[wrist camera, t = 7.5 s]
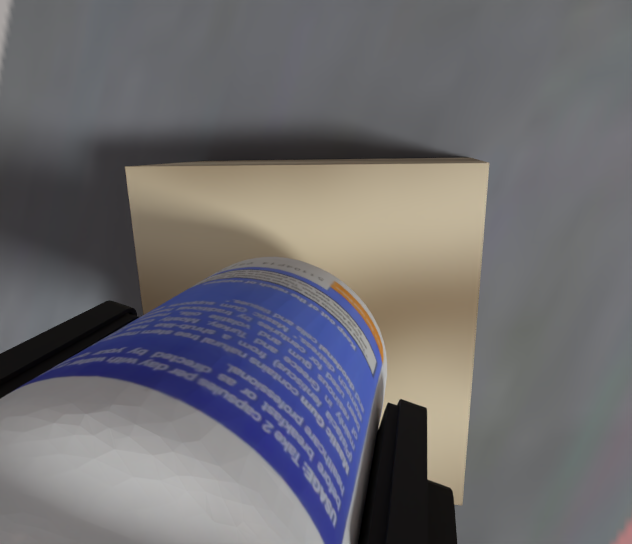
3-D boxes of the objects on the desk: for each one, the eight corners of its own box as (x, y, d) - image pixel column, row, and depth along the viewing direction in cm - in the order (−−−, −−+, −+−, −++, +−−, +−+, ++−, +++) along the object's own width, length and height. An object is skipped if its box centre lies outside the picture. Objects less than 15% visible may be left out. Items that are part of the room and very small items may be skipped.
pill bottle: (172, 258, 12) (-723, 620, 3) (384, 246, 10) (28, 923, 1) (206, 445, 13) (-330, 1133, 4) (399, 456, 12) (273, 1572, 2)
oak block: (452, 413, 18) (462, 505, 14) (221, 389, 21) (161, 461, 16) (469, 157, 16) (489, 163, 11) (202, 161, 18) (124, 166, 13)
